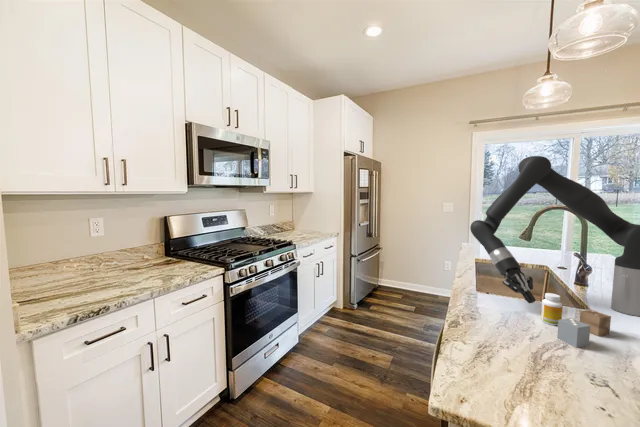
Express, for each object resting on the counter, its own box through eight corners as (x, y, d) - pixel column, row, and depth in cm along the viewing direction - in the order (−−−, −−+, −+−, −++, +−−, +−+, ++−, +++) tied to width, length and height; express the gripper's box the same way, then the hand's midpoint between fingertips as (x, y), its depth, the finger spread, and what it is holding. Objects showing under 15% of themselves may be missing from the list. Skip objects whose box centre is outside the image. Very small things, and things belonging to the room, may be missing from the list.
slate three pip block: (569, 336, 83) (570, 317, 83) (588, 345, 78) (590, 325, 78) (557, 338, 82) (558, 319, 82) (576, 347, 77) (577, 327, 77)
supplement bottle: (565, 327, 89) (567, 298, 89) (546, 325, 90) (548, 297, 90) (554, 319, 95) (556, 292, 94) (537, 318, 96) (539, 291, 95)
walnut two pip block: (590, 327, 90) (591, 309, 89) (609, 334, 85) (611, 315, 84) (579, 328, 88) (580, 310, 88) (598, 336, 84) (599, 317, 83)
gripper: (497, 257, 105) (526, 299, 94) (523, 255, 108) (554, 296, 97) (485, 266, 111) (511, 308, 100) (510, 265, 114) (538, 304, 103)
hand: (532, 302), depth 99 cm, fingers closed
